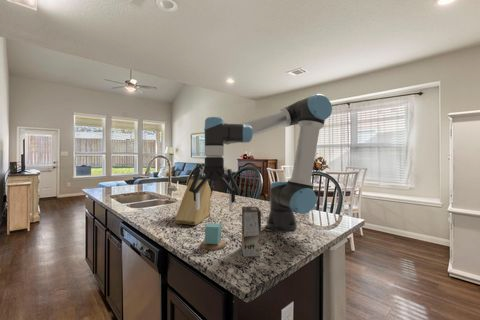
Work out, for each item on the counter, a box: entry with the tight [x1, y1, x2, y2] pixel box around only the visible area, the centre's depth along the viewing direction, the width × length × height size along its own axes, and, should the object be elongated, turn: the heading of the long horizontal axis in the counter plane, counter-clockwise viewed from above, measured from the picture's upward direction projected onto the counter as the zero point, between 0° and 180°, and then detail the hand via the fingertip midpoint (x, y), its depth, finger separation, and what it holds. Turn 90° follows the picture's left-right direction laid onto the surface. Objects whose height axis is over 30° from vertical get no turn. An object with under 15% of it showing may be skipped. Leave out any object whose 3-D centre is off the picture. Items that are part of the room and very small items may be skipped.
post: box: [200, 239, 227, 251], centre depth 92 cm, size 10×10×8 cm
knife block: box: [174, 163, 215, 226], centre depth 133 cm, size 11×35×31 cm, turn 170°
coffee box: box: [241, 206, 262, 258], centre depth 86 cm, size 9×6×16 cm
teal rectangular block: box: [204, 222, 222, 244], centre depth 92 cm, size 5×5×7 cm
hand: (214, 210), depth 92 cm, fingers open, 13 cm apart
